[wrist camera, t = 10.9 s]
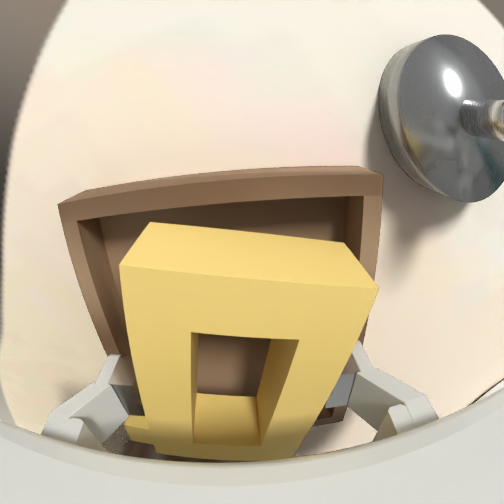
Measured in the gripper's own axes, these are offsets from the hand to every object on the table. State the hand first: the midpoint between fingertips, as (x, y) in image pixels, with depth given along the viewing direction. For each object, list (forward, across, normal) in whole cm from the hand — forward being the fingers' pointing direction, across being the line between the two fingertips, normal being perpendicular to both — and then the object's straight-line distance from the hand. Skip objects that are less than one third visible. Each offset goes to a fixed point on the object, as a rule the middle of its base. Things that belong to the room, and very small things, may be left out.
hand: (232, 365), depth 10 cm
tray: (+3, 0, 0) cm, 3 cm away
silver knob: (+3, -10, -9) cm, 14 cm away
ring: (0, 0, 0) cm, 1 cm away
